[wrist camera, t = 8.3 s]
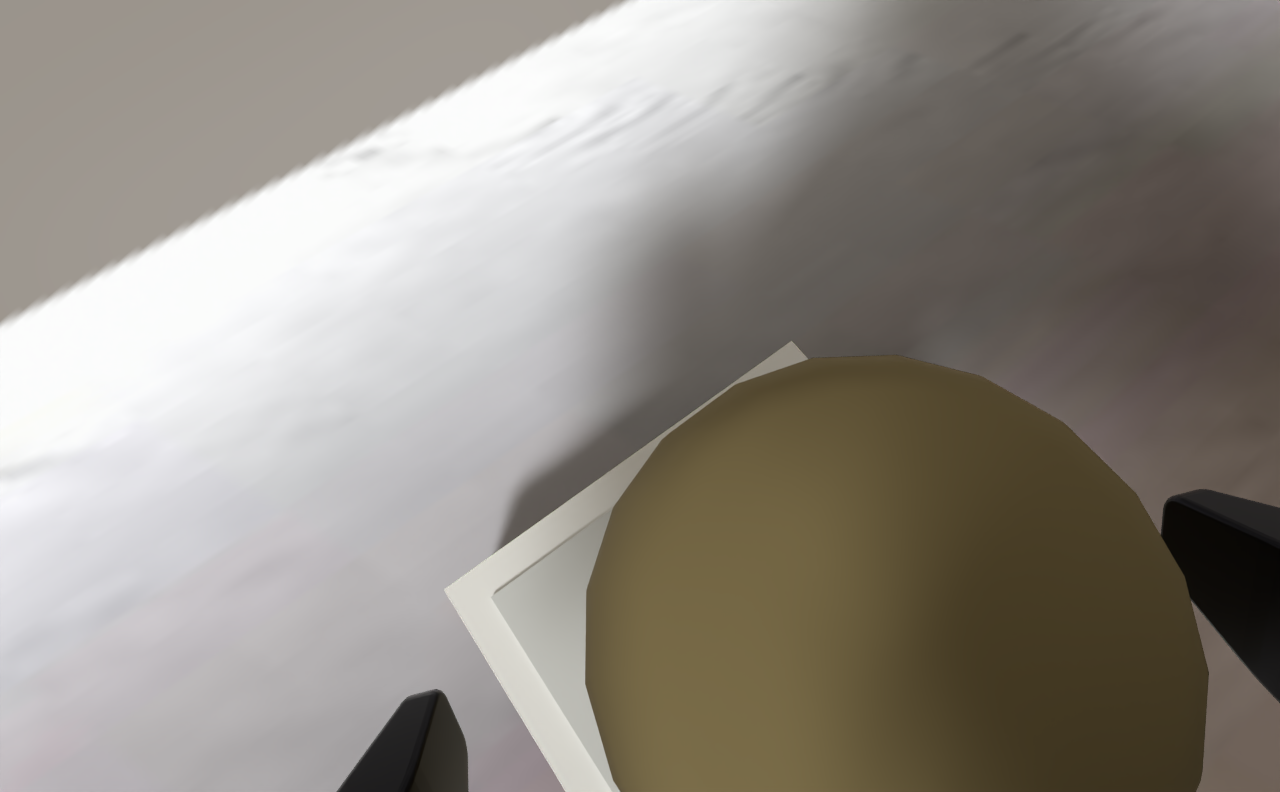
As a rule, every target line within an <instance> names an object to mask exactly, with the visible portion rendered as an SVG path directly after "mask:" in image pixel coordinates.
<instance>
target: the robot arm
mask: <svg viewBox="0 0 1280 792" xmlns="http://www.w3.org/2000/svg"><path fill="white" fill-rule="evenodd" d="M1161 537H1162V539H1163V540H1164V542H1165V544H1166V546H1167V547H1168V549H1169V551H1170V552H1171V554H1172V556H1173V558H1174V559H1175V561H1176V563H1177V564H1178V566H1179V568H1180V569H1181V571H1182V573H1183V575H1184V576H1185V580H1186V584H1187V588H1188V592H1189V596H1190V600H1191V601H1192V602H1193V603H1194V604H1195V606H1196V607H1197V608H1198V609H1199V610H1200V612H1201V613H1202V614H1203V615H1204V617H1205V618H1206V619H1207V620H1208V621H1209V623H1210V624H1211V625H1212V626H1213V627H1214V629H1215V630H1216V631H1217V632H1218V634H1219V635H1220V636H1221V637H1222V638H1223V640H1224V641H1225V642H1226V643H1227V644H1228V646H1229V647H1230V648H1231V649H1232V651H1233V652H1234V653H1235V654H1236V655H1237V657H1238V658H1239V659H1240V660H1241V661H1242V662H1243V664H1244V665H1245V666H1246V667H1247V668H1248V669H1249V671H1250V672H1251V673H1252V674H1253V675H1254V676H1255V677H1256V679H1257V680H1258V681H1259V682H1260V683H1261V684H1262V685H1263V686H1264V687H1265V688H1266V689H1267V690H1268V691H1269V692H1270V693H1271V694H1272V695H1273V697H1274V698H1275V699H1276V700H1277V701H1278V702H1279V703H1280V508H1278V507H1275V506H1271V505H1267V504H1263V503H1259V502H1255V501H1251V500H1247V499H1243V498H1239V497H1235V496H1231V495H1227V494H1223V493H1219V492H1216V491H1212V490H1207V489H1199V490H1194V491H1190V492H1186V493H1182V494H1178V495H1174V496H1172V497H1170V498H1169V499H1168V500H1167V501H1166V503H1165V504H1164V508H1163V517H1162V528H1161ZM337 792H468V753H467V746H466V741H465V738H464V735H463V732H462V730H461V728H460V726H459V724H458V721H457V719H456V717H455V715H454V713H453V710H452V708H451V706H450V704H449V702H448V699H447V697H446V695H445V694H444V693H443V692H442V691H441V690H438V689H434V690H430V691H426V692H422V693H419V694H415V695H411V696H409V697H407V698H406V699H405V700H404V701H403V702H402V703H401V704H400V706H399V707H398V708H397V710H396V711H395V713H394V714H393V715H392V717H391V718H390V719H389V721H388V722H387V723H386V725H385V726H384V728H383V729H382V730H381V732H380V733H379V734H378V736H377V737H376V739H375V740H374V741H373V743H372V744H371V745H370V747H369V748H368V749H367V751H366V752H365V754H364V755H363V756H362V758H361V759H360V760H359V762H358V763H357V765H356V766H355V767H354V769H353V770H352V771H351V773H350V774H349V775H348V777H347V778H346V780H345V781H344V782H343V784H342V785H341V786H340V788H339V789H338V791H337Z"/></svg>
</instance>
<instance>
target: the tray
mask: <svg viewBox="0 0 1280 792" xmlns="http://www.w3.org/2000/svg"><path fill="white" fill-rule="evenodd" d="M805 360H808V358H807V357H806V356H805V355H804V354H803V353H802V352H801V350H800V349H799V348H798V347H797V346H796V345H795V344H794V343H793V341H791V342H789V343H788V344H786V345H785V346H784V347H782V348H781V349H779V350H778V351H777V352H775V353H774V354H772V355H771V356H770V357H768V358H767V359H765V360H764V361H763V362H761V363H760V364H758V365H757V366H756V367H754V368H753V369H751V370H750V371H749V372H747V373H746V374H744V375H743V376H742V377H740V378H739V379H737V380H736V381H735V382H733V383H732V384H730V385H729V386H728V387H726V388H725V389H723V390H722V391H721V392H719V393H718V394H716V395H715V396H714V397H712V398H711V399H709V400H708V401H707V402H705V403H704V404H702V405H701V406H700V407H698V408H697V409H696V410H694V411H693V412H691V413H690V414H689V415H687V416H686V417H684V418H683V419H682V420H680V421H679V422H677V423H676V424H675V425H673V426H672V427H670V428H669V429H668V430H666V431H665V432H663V433H662V434H661V435H659V436H658V437H656V438H655V439H654V440H652V441H651V442H649V443H648V444H647V445H645V446H644V447H642V448H641V449H640V450H638V451H637V452H635V453H634V454H633V455H631V456H630V457H628V458H627V459H626V460H624V461H623V462H621V463H620V464H619V465H617V466H616V467H614V468H613V469H612V470H610V471H609V472H607V473H606V474H605V475H603V476H602V477H601V478H599V479H598V480H596V481H595V482H594V483H592V484H591V485H589V486H588V487H587V488H585V489H584V490H582V491H581V492H580V493H578V494H577V495H575V496H574V497H573V498H571V499H570V500H568V501H567V502H566V503H564V504H563V505H561V506H560V507H559V508H557V509H556V510H554V511H553V512H552V513H550V514H549V515H547V516H546V517H545V518H543V519H542V520H540V521H539V522H538V523H536V524H535V525H533V526H532V527H531V528H529V529H528V530H526V531H525V532H524V533H522V534H521V535H519V536H518V537H517V538H515V539H514V540H512V541H511V542H510V543H508V544H507V545H505V546H504V547H503V548H501V549H500V550H499V551H497V552H496V553H494V554H493V555H492V556H490V557H489V558H487V559H486V560H485V561H483V562H482V563H480V564H479V565H478V566H476V567H475V568H473V569H472V570H471V571H469V572H468V573H466V574H465V575H464V576H462V577H461V578H459V579H458V580H457V581H455V582H454V583H452V584H451V585H450V586H448V587H447V588H445V589H444V591H445V593H446V594H447V596H448V597H449V599H450V601H451V602H452V604H453V606H454V607H455V609H456V611H457V612H458V614H459V616H460V617H461V619H462V621H463V622H464V624H465V626H466V627H467V629H468V631H469V632H470V634H471V636H472V637H473V639H474V641H475V642H476V644H477V646H478V647H479V649H480V651H481V652H482V654H483V655H484V657H485V659H486V660H487V662H488V664H489V665H490V667H491V669H492V670H493V672H494V674H495V675H496V677H497V679H498V680H499V682H500V684H501V685H502V687H503V689H504V690H505V692H506V694H507V695H508V697H509V699H510V700H511V702H512V704H513V705H514V707H515V709H516V710H517V712H518V713H519V715H520V717H521V718H522V720H523V722H524V723H525V725H526V727H527V728H528V730H529V732H530V733H531V735H532V737H533V738H534V740H535V742H536V743H537V745H538V747H539V748H540V750H541V752H542V753H543V755H544V757H545V758H546V760H547V762H548V763H549V765H550V767H551V768H552V770H553V771H554V773H555V775H556V776H557V778H558V780H559V781H560V783H561V785H562V786H563V788H564V790H565V791H566V792H620V790H619V789H618V787H617V786H616V784H615V783H614V781H613V779H612V775H611V772H610V768H609V765H608V761H607V758H606V754H605V751H604V747H603V744H602V741H601V737H600V734H599V730H598V727H597V723H596V720H595V716H594V713H593V710H592V706H591V703H590V699H589V696H588V692H587V689H586V685H585V652H586V590H587V586H588V583H589V580H590V577H591V574H592V571H593V568H594V565H595V562H596V559H597V556H598V552H599V549H600V546H601V543H602V540H603V537H604V534H605V531H606V528H607V525H608V522H609V519H610V515H611V512H612V509H613V507H614V505H615V504H616V503H617V501H618V500H619V498H620V497H621V496H622V494H623V493H624V491H625V490H626V489H627V487H628V486H629V484H630V483H631V482H632V480H633V479H634V477H635V476H636V475H637V473H638V472H639V470H640V469H641V468H642V466H643V465H644V463H645V462H646V461H647V459H648V458H649V457H650V455H651V454H652V452H653V451H654V450H655V448H656V447H657V445H658V444H659V443H660V441H661V440H662V439H663V438H664V437H665V436H667V435H668V434H669V433H670V432H672V431H673V430H674V429H676V428H677V427H678V426H680V425H681V424H682V423H684V422H685V421H686V420H688V419H689V418H690V417H692V416H693V415H695V414H696V413H697V412H699V411H700V410H701V409H703V408H704V407H705V406H707V405H708V404H709V403H711V402H712V401H713V400H715V399H716V398H718V397H719V396H720V395H722V394H723V393H724V392H726V391H727V390H728V389H730V388H731V387H732V386H734V385H735V384H738V383H741V382H744V381H747V380H749V379H752V378H755V377H758V376H761V375H764V374H767V373H770V372H773V371H776V370H779V369H782V368H785V367H787V366H790V365H793V364H796V363H799V362H802V361H805Z"/></svg>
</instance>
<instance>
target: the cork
mask: <svg viewBox="0 0 1280 792" xmlns="http://www.w3.org/2000/svg"><path fill="white" fill-rule="evenodd" d="M1208 677H1209V671H1208V667H1207V663H1206V659H1205V655H1204V651H1203V647H1202V643H1201V639H1200V635H1199V631H1198V628H1197V624H1196V620H1195V616H1194V612H1193V608H1192V604H1191V600H1190V596H1189V592H1188V588H1187V584H1186V580H1185V576H1184V575H1183V573H1182V571H1181V569H1180V568H1179V566H1178V564H1177V563H1176V561H1175V559H1174V558H1173V556H1172V554H1171V552H1170V551H1169V549H1168V547H1167V546H1166V544H1165V542H1164V540H1163V539H1162V537H1161V535H1160V534H1159V532H1158V530H1157V528H1156V527H1155V525H1154V523H1153V522H1152V520H1151V518H1150V516H1149V515H1148V513H1147V511H1146V510H1145V508H1144V506H1143V505H1142V503H1141V501H1140V499H1139V498H1138V496H1137V494H1136V493H1135V492H1134V491H1133V490H1132V489H1131V488H1130V487H1129V486H1128V485H1127V484H1126V483H1125V482H1124V481H1123V480H1122V479H1121V478H1120V477H1119V476H1118V475H1117V474H1116V473H1115V472H1114V471H1113V470H1112V469H1111V468H1110V467H1109V466H1108V465H1107V464H1106V463H1105V462H1104V461H1103V460H1102V459H1100V458H1099V457H1098V456H1097V455H1096V454H1095V453H1094V452H1093V451H1092V450H1091V449H1090V448H1089V447H1088V446H1087V445H1086V444H1085V443H1084V442H1083V441H1082V440H1081V439H1080V438H1079V437H1078V436H1077V435H1076V434H1075V433H1074V432H1073V431H1072V430H1071V429H1070V428H1069V427H1068V426H1067V425H1065V424H1064V423H1063V422H1062V421H1060V420H1058V419H1057V418H1055V417H1053V416H1051V415H1050V414H1048V413H1046V412H1044V411H1043V410H1041V409H1039V408H1037V407H1035V406H1034V405H1032V404H1030V403H1028V402H1027V401H1025V400H1023V399H1021V398H1019V397H1018V396H1016V395H1014V394H1012V393H1011V392H1009V391H1007V390H1005V389H1003V388H1002V387H1000V386H998V385H996V384H995V383H993V382H991V381H989V380H987V379H986V378H984V377H982V376H979V375H975V374H971V373H967V372H963V371H959V370H955V369H951V368H947V367H943V366H939V365H935V364H931V363H927V362H923V361H919V360H915V359H911V358H907V357H903V356H899V355H881V356H852V357H823V358H811V359H808V360H805V361H802V362H799V363H796V364H793V365H790V366H787V367H785V368H782V369H779V370H776V371H773V372H770V373H767V374H764V375H761V376H758V377H755V378H752V379H749V380H747V381H744V382H741V383H738V384H735V385H734V386H732V387H731V388H730V389H728V390H727V391H726V392H724V393H723V394H722V395H720V396H719V397H718V398H716V399H715V400H713V401H712V402H711V403H709V404H708V405H707V406H705V407H704V408H703V409H701V410H700V411H699V412H697V413H696V414H695V415H693V416H692V417H690V418H689V419H688V420H686V421H685V422H684V423H682V424H681V425H680V426H678V427H677V428H676V429H674V430H673V431H672V432H670V433H669V434H668V435H667V436H665V437H664V438H663V439H662V440H661V441H660V443H659V444H658V445H657V447H656V448H655V450H654V451H653V452H652V454H651V455H650V457H649V458H648V459H647V461H646V462H645V463H644V465H643V466H642V468H641V469H640V470H639V472H638V473H637V475H636V476H635V477H634V479H633V480H632V482H631V483H630V484H629V486H628V487H627V489H626V490H625V491H624V493H623V494H622V496H621V497H620V498H619V500H618V501H617V503H616V504H615V505H614V507H613V509H612V512H611V515H610V519H609V522H608V525H607V528H606V531H605V534H604V537H603V540H602V543H601V546H600V549H599V552H598V556H597V559H596V562H595V565H594V568H593V571H592V574H591V577H590V580H589V583H588V586H587V590H586V652H585V685H586V689H587V692H588V696H589V699H590V703H591V706H592V710H593V713H594V716H595V720H596V723H597V727H598V730H599V734H600V737H601V741H602V744H603V747H604V751H605V754H606V758H607V761H608V765H609V768H610V772H611V775H612V779H613V781H614V783H615V784H616V786H617V787H618V789H619V790H620V792H1196V790H1197V788H1198V786H1199V783H1200V781H1201V776H1202V770H1203V754H1204V739H1205V724H1206V708H1207V693H1208Z"/></svg>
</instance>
